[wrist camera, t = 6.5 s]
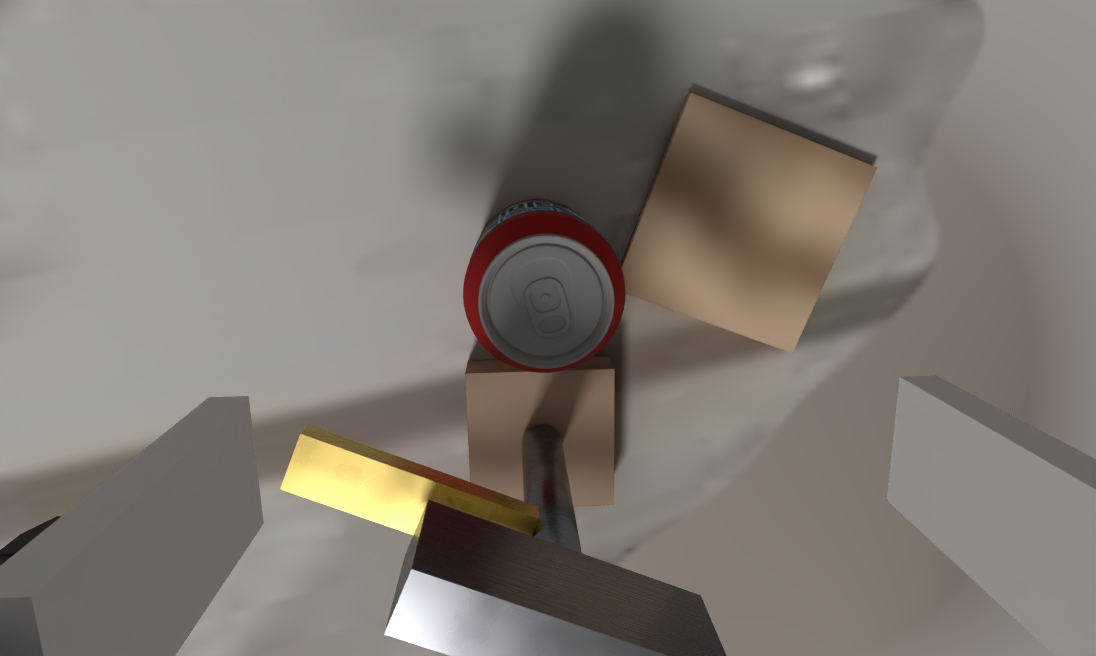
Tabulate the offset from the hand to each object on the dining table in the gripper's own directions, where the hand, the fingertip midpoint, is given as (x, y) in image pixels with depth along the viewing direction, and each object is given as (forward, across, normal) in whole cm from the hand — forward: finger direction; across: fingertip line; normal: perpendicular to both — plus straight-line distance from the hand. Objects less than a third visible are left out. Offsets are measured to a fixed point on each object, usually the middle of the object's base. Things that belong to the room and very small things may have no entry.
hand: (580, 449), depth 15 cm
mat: (+26, +11, +2) cm, 28 cm away
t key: (+23, -2, -9) cm, 25 cm away
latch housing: (+26, 0, -10) cm, 28 cm away
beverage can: (+26, 0, 0) cm, 26 cm away
